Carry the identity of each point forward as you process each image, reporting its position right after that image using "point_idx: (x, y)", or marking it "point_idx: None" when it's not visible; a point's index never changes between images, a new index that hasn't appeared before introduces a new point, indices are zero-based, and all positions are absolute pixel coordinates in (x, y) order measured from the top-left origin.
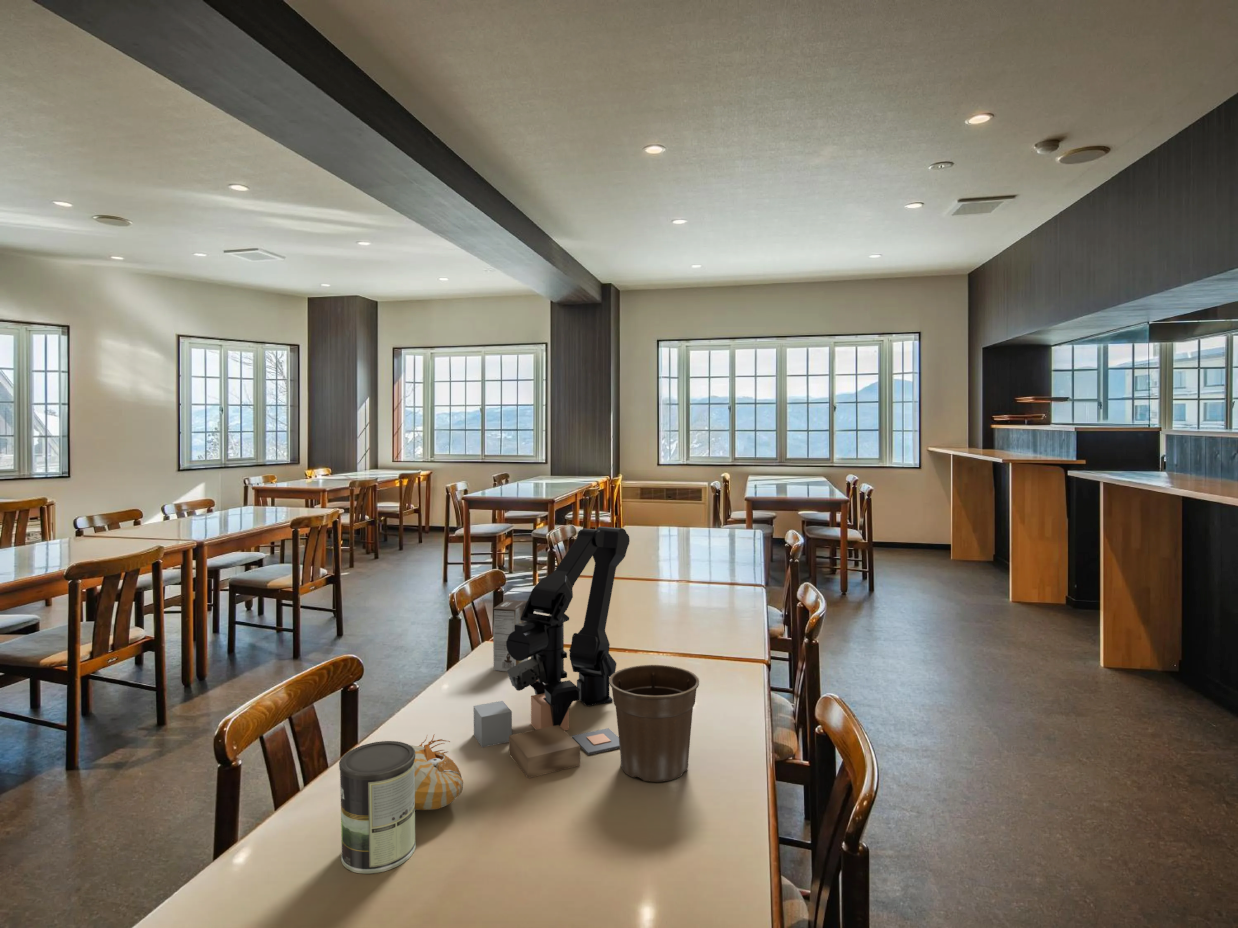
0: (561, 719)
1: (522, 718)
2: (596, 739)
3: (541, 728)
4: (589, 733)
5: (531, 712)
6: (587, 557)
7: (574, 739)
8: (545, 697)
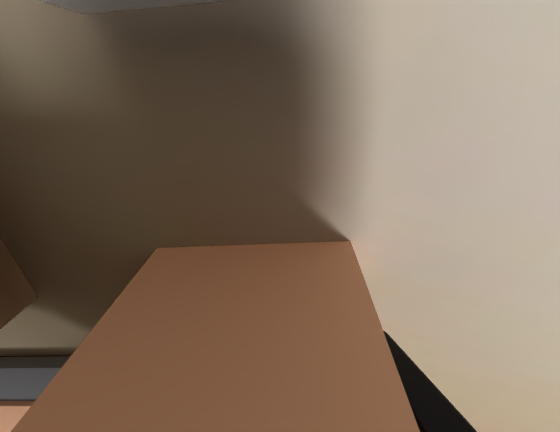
0: None
1: (468, 212)
2: None
3: (138, 278)
4: None
5: (359, 300)
6: None
7: (57, 361)
8: None
